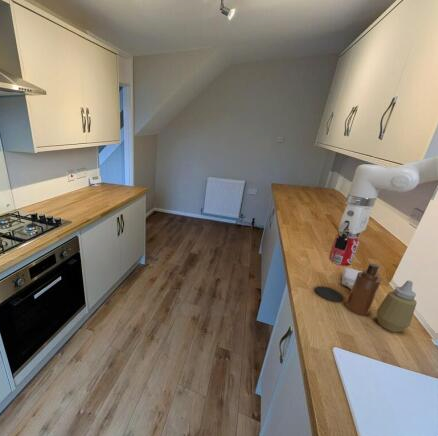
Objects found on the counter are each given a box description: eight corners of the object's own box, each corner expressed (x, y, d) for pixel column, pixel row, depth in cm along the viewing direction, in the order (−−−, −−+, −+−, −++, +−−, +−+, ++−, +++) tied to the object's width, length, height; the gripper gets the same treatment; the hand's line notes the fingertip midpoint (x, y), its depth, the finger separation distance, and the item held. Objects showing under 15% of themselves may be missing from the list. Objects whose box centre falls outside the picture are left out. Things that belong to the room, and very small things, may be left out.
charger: (340, 291, 98) (342, 275, 109) (369, 301, 92) (368, 283, 103) (343, 281, 96) (345, 266, 107) (373, 291, 91) (372, 274, 102)
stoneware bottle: (371, 311, 87) (390, 267, 81) (363, 317, 84) (382, 272, 78) (350, 300, 92) (366, 258, 86) (342, 306, 90) (358, 263, 83)
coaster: (346, 297, 95) (347, 296, 94) (335, 304, 90) (335, 303, 90) (322, 285, 102) (322, 284, 102) (310, 291, 98) (311, 290, 98)
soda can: (349, 261, 92) (359, 233, 88) (352, 269, 87) (363, 240, 82) (327, 256, 96) (335, 229, 91) (328, 264, 90) (338, 235, 86)
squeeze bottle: (395, 319, 83) (416, 276, 77) (412, 337, 76) (437, 291, 70) (367, 315, 85) (386, 272, 79) (381, 332, 78) (403, 286, 72)
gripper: (362, 207, 75) (345, 256, 82) (384, 200, 83) (367, 245, 89) (335, 201, 81) (321, 247, 88) (358, 195, 89) (344, 238, 96)
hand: (344, 246), depth 89 cm, fingers closed on soda can, 7 cm apart
